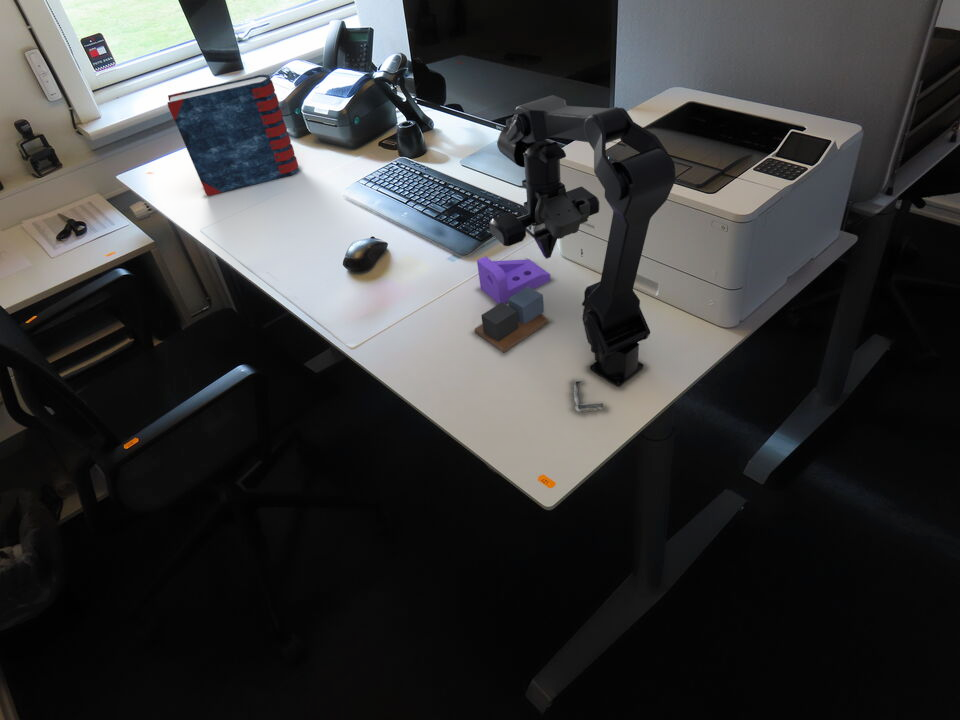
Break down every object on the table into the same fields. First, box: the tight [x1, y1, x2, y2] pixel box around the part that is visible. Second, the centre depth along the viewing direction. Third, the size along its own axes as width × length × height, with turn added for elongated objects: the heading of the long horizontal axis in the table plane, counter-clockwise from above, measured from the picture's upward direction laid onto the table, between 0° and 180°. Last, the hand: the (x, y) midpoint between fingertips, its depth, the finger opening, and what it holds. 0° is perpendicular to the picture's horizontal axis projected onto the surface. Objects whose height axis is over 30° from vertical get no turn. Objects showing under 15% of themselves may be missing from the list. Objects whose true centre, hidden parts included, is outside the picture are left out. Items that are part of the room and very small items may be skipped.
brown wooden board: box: [474, 314, 549, 353], centre depth 122 cm, size 8×11×1 cm
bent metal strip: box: [572, 379, 604, 413], centre depth 107 cm, size 7×1×5 cm
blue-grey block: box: [507, 286, 545, 325], centre depth 122 cm, size 4×5×4 cm
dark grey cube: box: [480, 302, 519, 342], centre depth 119 cm, size 4×5×4 cm
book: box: [167, 74, 300, 197], centre depth 172 cm, size 25×7×25 cm, turn 108°
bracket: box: [476, 255, 551, 305], centre depth 130 cm, size 12×7×7 cm, turn 123°
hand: (547, 257), depth 120 cm, fingers closed
